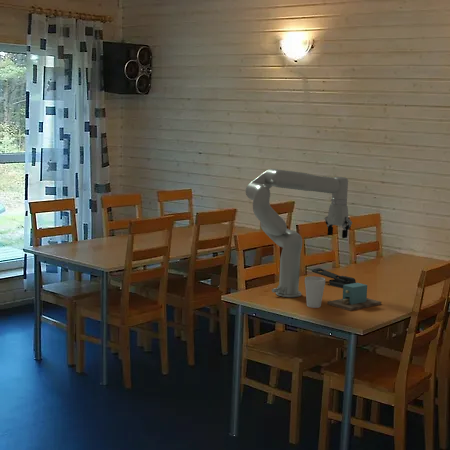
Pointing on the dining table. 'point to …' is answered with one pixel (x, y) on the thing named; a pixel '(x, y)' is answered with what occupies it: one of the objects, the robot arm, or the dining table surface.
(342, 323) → the dining table surface
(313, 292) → the foam cup
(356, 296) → the cabinet
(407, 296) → the dining table surface
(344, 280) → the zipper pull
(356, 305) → the board
